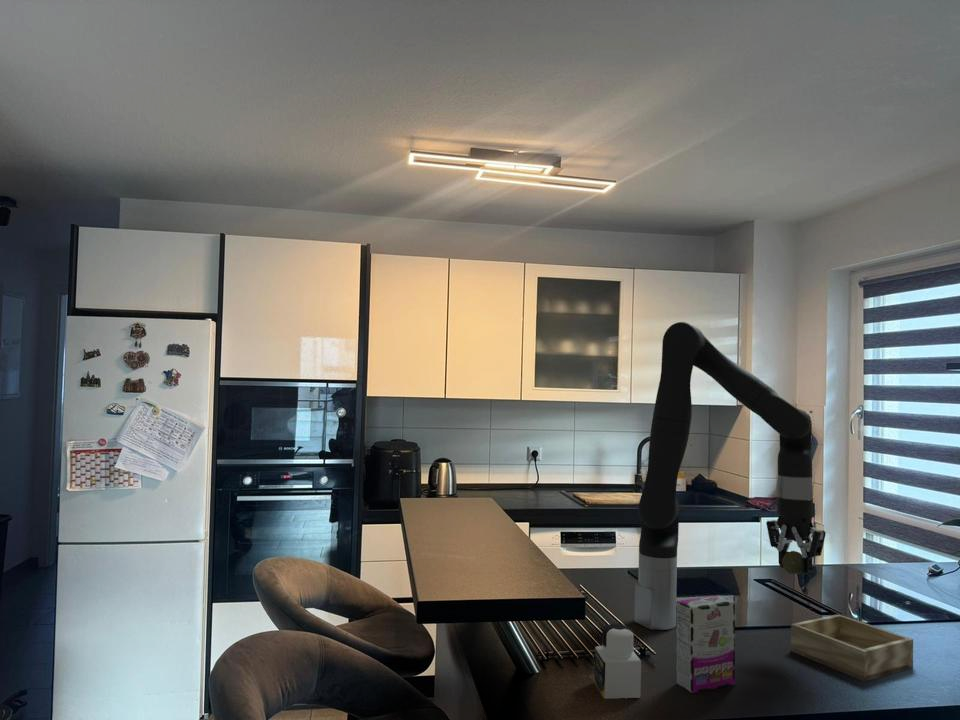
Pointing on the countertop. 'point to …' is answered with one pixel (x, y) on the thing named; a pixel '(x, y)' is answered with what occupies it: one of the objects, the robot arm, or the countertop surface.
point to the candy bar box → (705, 643)
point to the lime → (792, 562)
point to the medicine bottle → (617, 664)
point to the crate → (852, 647)
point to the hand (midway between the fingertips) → (795, 570)
